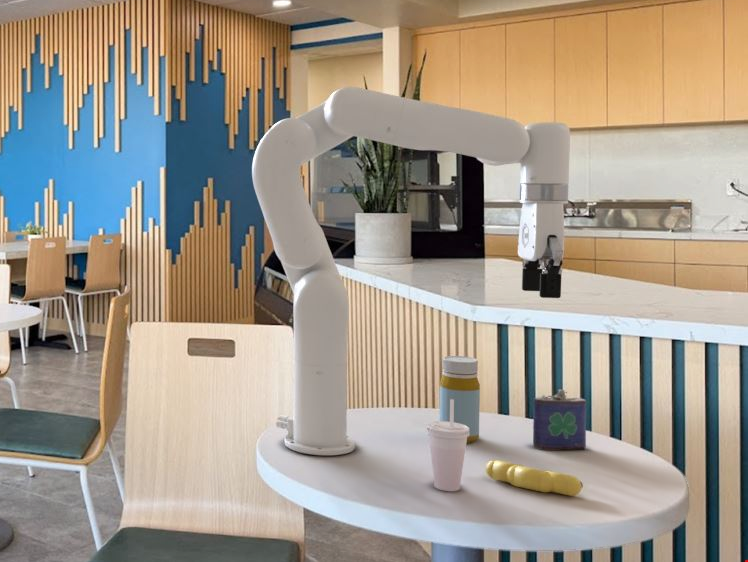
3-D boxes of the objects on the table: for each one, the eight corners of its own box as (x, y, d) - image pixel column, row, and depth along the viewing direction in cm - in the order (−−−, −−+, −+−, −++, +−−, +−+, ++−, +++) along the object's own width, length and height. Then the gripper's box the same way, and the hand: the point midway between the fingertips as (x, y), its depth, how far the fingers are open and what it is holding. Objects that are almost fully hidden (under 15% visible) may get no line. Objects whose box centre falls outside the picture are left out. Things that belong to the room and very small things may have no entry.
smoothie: (464, 497, 132) (465, 406, 131) (421, 489, 135) (422, 400, 135) (472, 484, 137) (474, 397, 137) (430, 477, 141) (432, 392, 140)
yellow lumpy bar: (480, 481, 139) (480, 461, 139) (489, 474, 142) (490, 455, 142) (576, 502, 130) (577, 481, 129) (584, 495, 133) (584, 474, 133)
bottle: (482, 436, 164) (483, 357, 164) (474, 445, 158) (476, 364, 158) (444, 430, 168) (445, 354, 167) (435, 439, 162) (436, 360, 161)
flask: (581, 445, 158) (583, 387, 158) (589, 450, 155) (590, 391, 155) (530, 445, 158) (531, 387, 158) (537, 450, 156) (538, 391, 155)
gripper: (506, 194, 158) (503, 287, 159) (536, 195, 141) (533, 299, 142) (550, 194, 157) (547, 289, 158) (585, 195, 140) (582, 301, 140)
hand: (540, 294), depth 150 cm, fingers open, 9 cm apart
